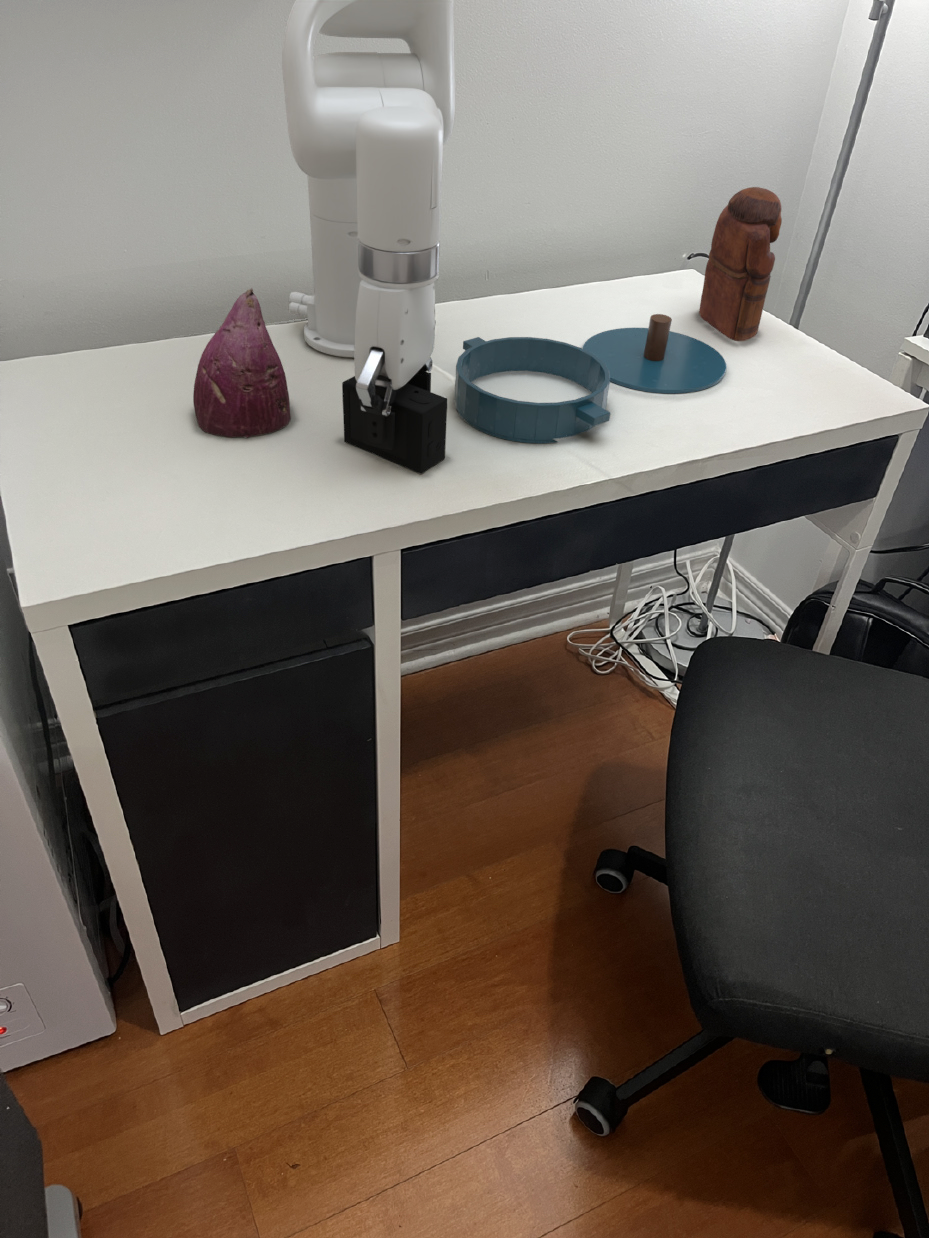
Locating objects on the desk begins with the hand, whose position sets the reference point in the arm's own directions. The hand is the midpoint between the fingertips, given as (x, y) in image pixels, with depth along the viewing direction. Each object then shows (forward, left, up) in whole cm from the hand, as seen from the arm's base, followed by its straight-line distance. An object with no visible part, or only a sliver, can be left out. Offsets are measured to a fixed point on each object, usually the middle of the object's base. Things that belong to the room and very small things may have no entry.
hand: (397, 424), depth 99 cm
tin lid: (+21, +32, -2) cm, 39 cm away
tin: (+10, +15, -3) cm, 18 cm away
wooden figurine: (+28, +49, -3) cm, 56 cm away
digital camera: (0, 0, -3) cm, 3 cm away
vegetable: (-18, -1, -3) cm, 18 cm away
